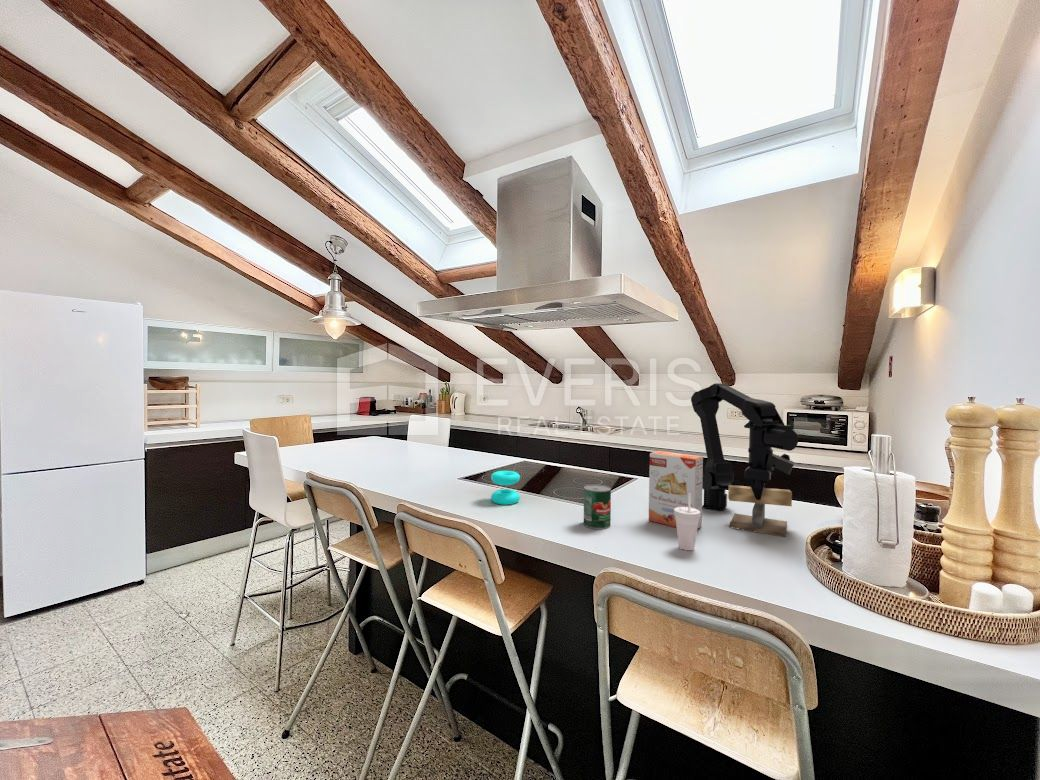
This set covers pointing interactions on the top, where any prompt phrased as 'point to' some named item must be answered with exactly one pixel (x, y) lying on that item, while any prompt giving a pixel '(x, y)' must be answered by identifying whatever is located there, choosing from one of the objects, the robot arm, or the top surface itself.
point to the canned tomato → (597, 506)
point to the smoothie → (687, 525)
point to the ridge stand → (759, 522)
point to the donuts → (505, 495)
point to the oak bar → (767, 497)
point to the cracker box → (674, 485)
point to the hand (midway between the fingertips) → (758, 498)
